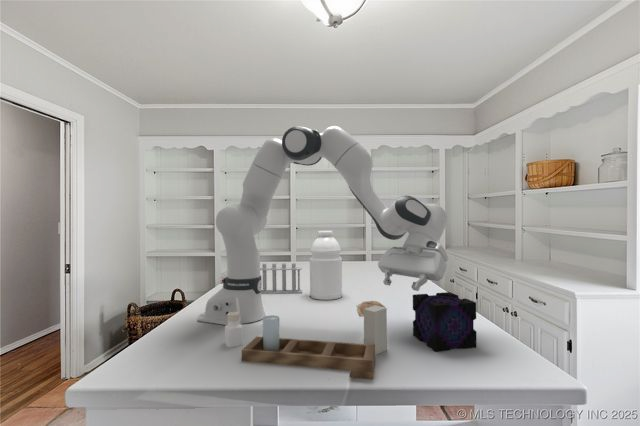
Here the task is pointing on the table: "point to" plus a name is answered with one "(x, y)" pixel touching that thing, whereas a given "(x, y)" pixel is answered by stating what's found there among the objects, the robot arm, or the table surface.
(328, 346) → the rack
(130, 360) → the table surface
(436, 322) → the energy cube
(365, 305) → the fish fossil
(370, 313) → the clay block
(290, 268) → the test tube rack
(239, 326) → the pepper shaker
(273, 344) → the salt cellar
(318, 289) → the bottle
